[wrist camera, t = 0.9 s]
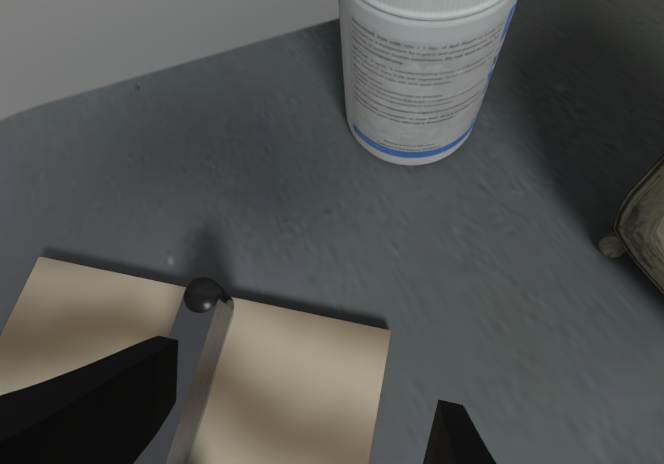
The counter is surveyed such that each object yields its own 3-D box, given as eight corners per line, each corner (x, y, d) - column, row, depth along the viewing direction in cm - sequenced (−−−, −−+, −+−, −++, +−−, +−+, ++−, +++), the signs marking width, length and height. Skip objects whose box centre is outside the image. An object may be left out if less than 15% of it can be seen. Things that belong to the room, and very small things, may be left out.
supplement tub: (495, 144, 33) (588, -48, 19) (375, 189, 32) (385, 21, 19) (435, 51, 37) (479, -165, 23) (326, 89, 36) (306, -112, 22)
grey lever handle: (185, 648, 22) (154, 688, 18) (55, 605, 23) (4, 636, 19) (278, 305, 28) (267, 290, 25) (173, 283, 29) (149, 265, 26)
